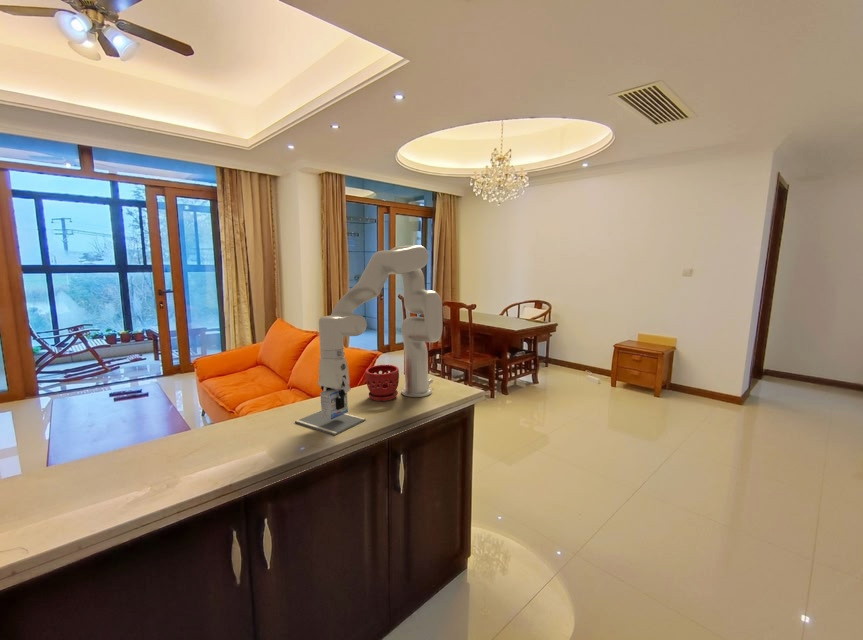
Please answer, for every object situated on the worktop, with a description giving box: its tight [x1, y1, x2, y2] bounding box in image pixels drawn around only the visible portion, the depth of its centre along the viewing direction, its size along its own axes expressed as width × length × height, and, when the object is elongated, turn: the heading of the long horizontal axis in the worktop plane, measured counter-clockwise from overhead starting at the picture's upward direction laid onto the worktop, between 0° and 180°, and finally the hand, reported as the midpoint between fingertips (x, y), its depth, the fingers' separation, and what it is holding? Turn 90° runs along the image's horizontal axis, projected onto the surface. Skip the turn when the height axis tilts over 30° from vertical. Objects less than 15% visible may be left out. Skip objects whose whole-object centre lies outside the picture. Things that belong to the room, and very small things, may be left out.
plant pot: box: [365, 364, 400, 402], centre depth 154 cm, size 13×13×12 cm
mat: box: [294, 410, 366, 436], centre depth 132 cm, size 14×19×1 cm
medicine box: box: [319, 389, 349, 420], centre depth 129 cm, size 8×4×9 cm, turn 146°
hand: (334, 406), depth 130 cm, fingers closed on medicine box, 4 cm apart
